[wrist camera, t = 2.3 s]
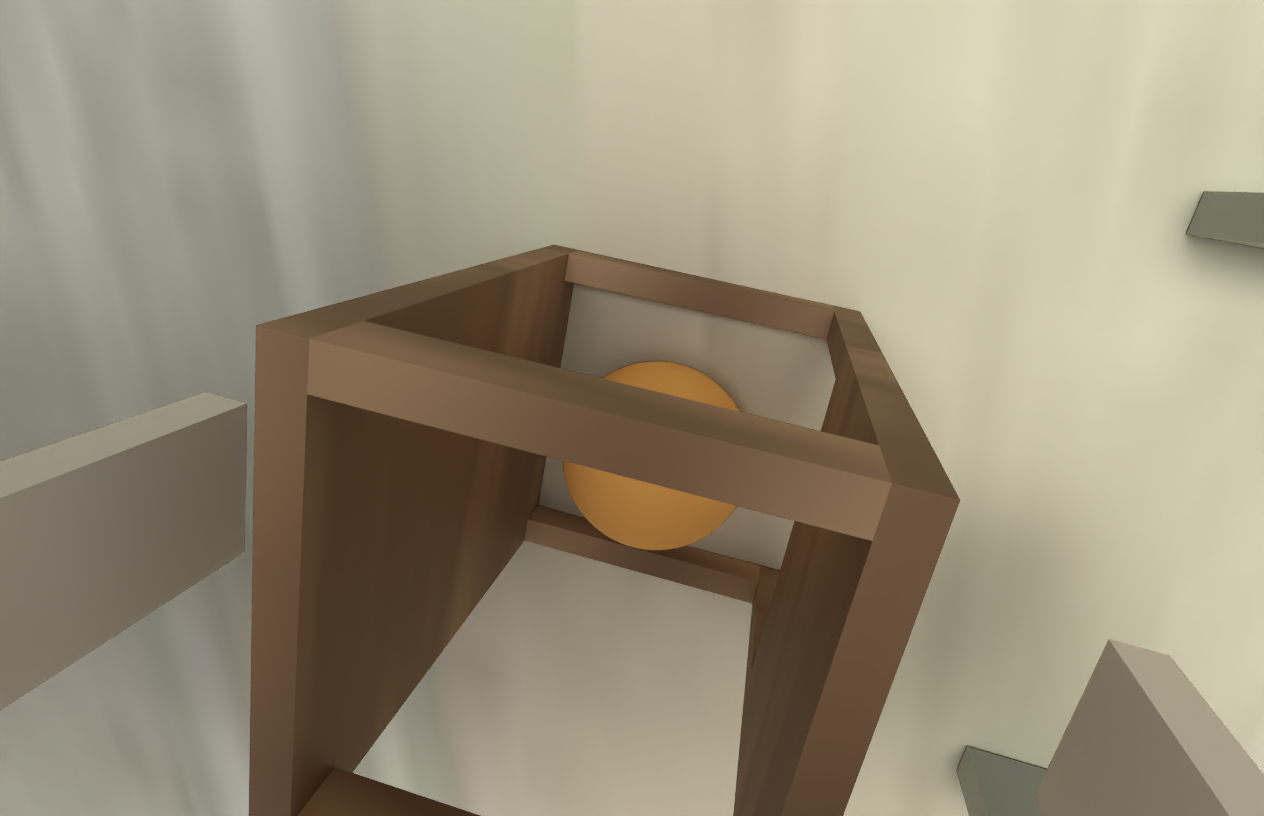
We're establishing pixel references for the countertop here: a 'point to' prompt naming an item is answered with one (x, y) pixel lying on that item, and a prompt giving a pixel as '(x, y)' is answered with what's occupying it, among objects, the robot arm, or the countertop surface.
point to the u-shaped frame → (1009, 786)
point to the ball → (644, 507)
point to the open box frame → (562, 517)
